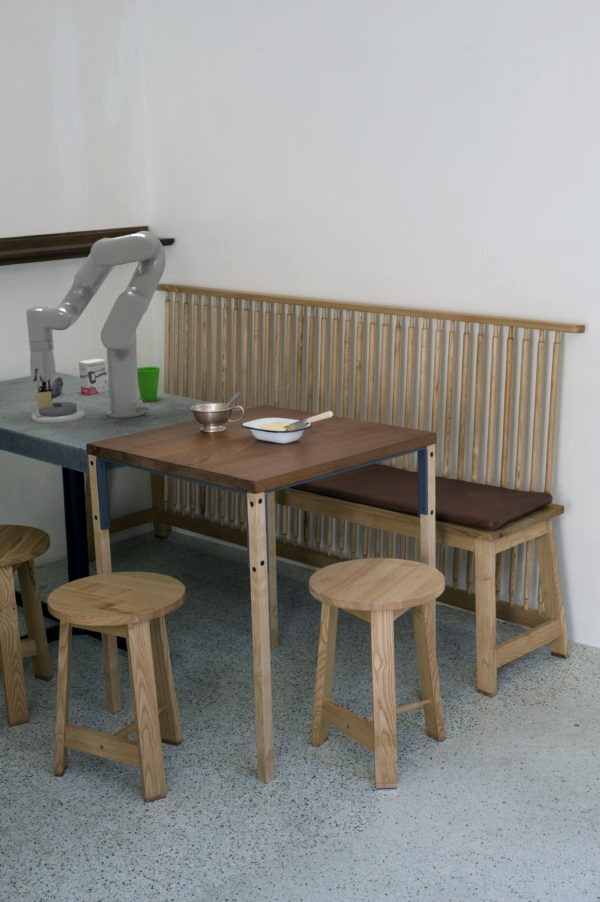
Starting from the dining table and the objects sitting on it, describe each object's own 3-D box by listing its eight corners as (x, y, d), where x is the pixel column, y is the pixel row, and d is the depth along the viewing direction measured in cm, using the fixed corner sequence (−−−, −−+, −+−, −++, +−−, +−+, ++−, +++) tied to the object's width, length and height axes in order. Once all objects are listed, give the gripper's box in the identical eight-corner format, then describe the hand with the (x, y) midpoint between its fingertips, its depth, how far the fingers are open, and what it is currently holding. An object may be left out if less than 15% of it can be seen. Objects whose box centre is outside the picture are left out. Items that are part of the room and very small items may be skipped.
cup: (167, 398, 381) (165, 367, 379) (150, 403, 374) (148, 372, 371) (147, 396, 386) (145, 365, 383) (130, 401, 379) (128, 369, 376)
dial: (69, 406, 365) (68, 385, 363) (82, 412, 355) (80, 391, 353) (32, 411, 359) (31, 390, 357) (44, 418, 349) (42, 396, 347)
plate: (94, 412, 363) (93, 407, 362) (70, 424, 347) (69, 418, 347) (47, 410, 367) (47, 405, 367) (22, 422, 352) (21, 416, 351)
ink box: (88, 395, 391) (86, 362, 388) (80, 393, 394) (78, 361, 391) (108, 391, 396) (106, 359, 393) (100, 390, 400) (98, 358, 397)
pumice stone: (33, 403, 391) (52, 398, 385) (26, 383, 390) (45, 377, 384) (53, 397, 399) (72, 392, 393) (47, 377, 398) (66, 371, 392)
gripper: (39, 341, 361) (45, 396, 366) (20, 349, 347) (26, 406, 352) (61, 341, 360) (66, 396, 365) (43, 349, 346) (48, 406, 350)
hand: (46, 401), depth 358 cm, fingers closed
